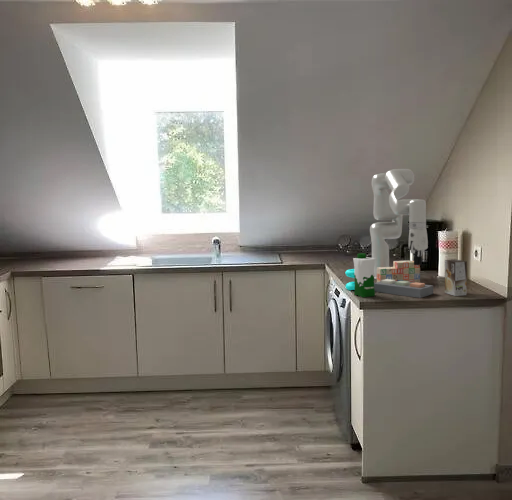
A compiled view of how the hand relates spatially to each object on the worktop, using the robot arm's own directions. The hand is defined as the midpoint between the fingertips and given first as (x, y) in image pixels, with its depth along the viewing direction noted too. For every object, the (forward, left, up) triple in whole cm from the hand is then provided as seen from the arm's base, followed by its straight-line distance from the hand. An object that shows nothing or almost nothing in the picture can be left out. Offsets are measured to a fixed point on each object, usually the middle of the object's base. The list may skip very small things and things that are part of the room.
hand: (417, 264), depth 251 cm
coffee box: (+13, +12, -15) cm, 23 cm away
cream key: (-16, 0, -12) cm, 20 cm away
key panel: (-8, 0, -14) cm, 17 cm away
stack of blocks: (-22, +18, -15) cm, 32 cm away
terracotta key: (0, 0, -12) cm, 12 cm away
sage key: (-8, 0, -12) cm, 15 cm away
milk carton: (-18, -17, -15) cm, 29 cm away
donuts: (-31, -7, -15) cm, 35 cm away
